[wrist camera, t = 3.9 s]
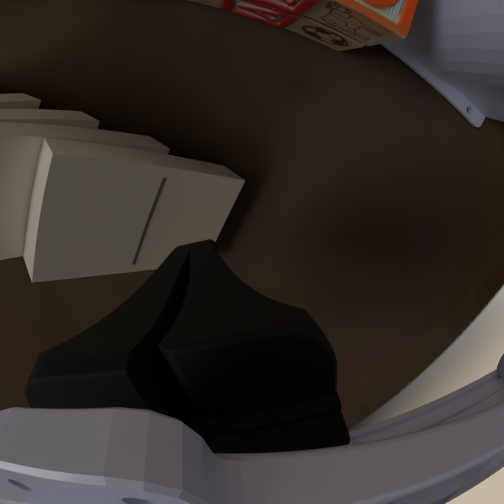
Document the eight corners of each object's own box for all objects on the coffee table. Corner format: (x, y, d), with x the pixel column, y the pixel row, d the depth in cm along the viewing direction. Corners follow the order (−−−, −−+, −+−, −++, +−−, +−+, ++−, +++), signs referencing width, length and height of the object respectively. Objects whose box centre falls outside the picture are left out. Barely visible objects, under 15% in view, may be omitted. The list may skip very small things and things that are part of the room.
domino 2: (170, 149, 14) (-28, 136, 6) (136, 237, 16) (-35, 267, 8) (149, 136, 14) (-32, 121, 7) (119, 220, 16) (-42, 241, 9)
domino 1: (100, 121, 13) (-81, 126, 5) (74, 209, 15) (-82, 256, 7) (80, 111, 13) (-86, 114, 5) (57, 195, 15) (-90, 233, 7)
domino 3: (245, 180, 15) (53, 154, 8) (205, 263, 17) (32, 282, 10) (223, 165, 16) (43, 137, 8) (187, 245, 17) (23, 255, 10)
